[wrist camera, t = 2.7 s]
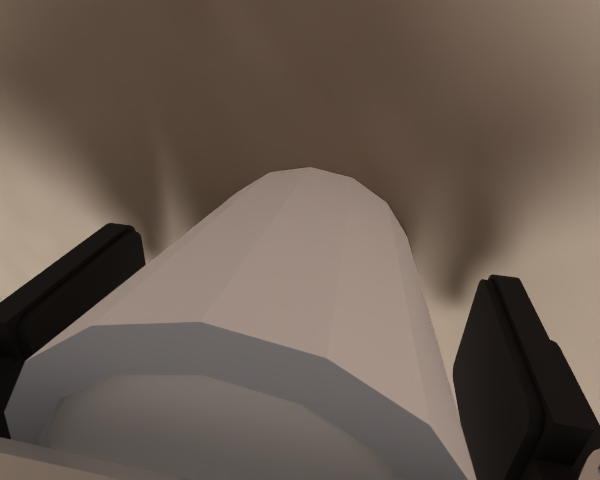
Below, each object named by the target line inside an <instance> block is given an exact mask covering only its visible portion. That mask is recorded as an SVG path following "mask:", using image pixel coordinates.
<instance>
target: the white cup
mask: <svg viewBox="0 0 600 480" xmlns="http://www.w3.org/2000/svg"><path fill="white" fill-rule="evenodd" d="M4 414H5V418H6V421H7V425H8V429H9V433H10V436H11V440H15V441H20V442H24V443H29V444H33V445H38V446H42V447H47V448H52V449H56V450H61V451H65V452H70V453H74V454H79V455H83V456H88V457H93V458H97V459H102V460H106V461H111V462H115V463H120V464H124V465H129V466H133V467H137V468H142V469H146V470H151V471H155V472H160V473H164V474H169V475H173V476H177V477H182V478H186V479H191V480H477V479H476V476H475V472H474V469H473V465H472V462H471V458H470V455H469V451H468V448H467V444H466V441H465V437H464V434H463V430H462V427H461V423H460V420H459V416H458V413H457V409H456V406H455V402H454V399H453V395H452V392H451V388H450V385H449V381H448V378H447V374H446V371H445V367H444V364H443V360H442V357H441V353H440V350H439V346H438V343H437V339H436V336H435V332H434V329H433V325H432V322H431V318H430V315H429V311H428V308H427V304H426V301H425V297H424V294H423V290H422V287H421V283H420V280H419V276H418V273H417V269H416V266H415V262H414V259H413V255H412V252H411V248H410V245H409V241H408V238H407V236H406V234H405V232H404V230H403V229H402V227H401V225H400V224H399V222H398V220H397V219H396V217H395V215H394V214H393V212H392V210H391V209H390V207H389V205H388V204H387V202H385V201H384V200H382V199H381V198H380V197H378V196H377V195H376V194H374V193H373V192H371V191H370V190H369V189H367V188H366V187H365V186H363V185H362V184H361V183H359V182H358V181H356V180H355V179H354V178H352V177H348V176H344V175H340V174H336V173H332V172H328V171H324V170H321V169H317V168H313V167H306V168H298V169H291V170H283V171H276V172H269V173H268V174H266V175H264V176H263V177H261V178H259V179H258V180H256V181H254V182H253V183H251V184H249V185H248V186H246V187H244V188H243V189H241V190H240V191H238V192H237V193H235V194H234V195H233V196H232V197H230V198H229V199H228V200H227V201H225V202H224V203H223V204H222V205H220V206H219V207H218V208H217V209H215V210H214V211H213V212H212V213H210V214H209V215H208V216H206V217H205V218H204V219H203V220H201V221H200V222H199V223H198V224H196V225H195V226H194V227H193V228H191V229H190V230H189V231H188V232H186V233H185V234H184V235H183V236H181V237H180V238H179V239H178V240H176V241H175V242H174V243H173V244H171V245H170V246H169V247H168V248H166V249H165V250H164V251H163V252H161V253H160V254H159V255H158V256H156V257H155V258H154V259H153V260H151V261H150V262H149V263H148V264H146V265H145V266H144V267H143V268H141V269H140V270H139V271H138V272H136V273H135V274H134V275H133V276H131V277H130V278H129V279H128V280H126V281H125V282H124V283H122V284H121V285H120V286H119V287H117V288H116V289H115V290H114V291H112V292H111V293H110V294H109V295H107V296H106V297H105V298H104V299H102V300H101V301H100V302H99V303H97V304H96V305H95V306H94V307H92V308H91V309H90V310H89V311H87V312H86V313H85V314H84V315H82V316H81V317H80V318H79V319H77V320H76V321H75V322H74V323H72V324H71V325H70V326H69V327H67V328H66V329H65V330H64V331H62V332H61V333H60V334H59V335H57V336H56V337H55V338H54V339H52V340H51V341H50V342H49V343H47V344H46V345H45V346H44V347H42V348H41V349H40V350H38V351H37V352H36V353H35V354H33V355H32V356H31V357H30V358H28V359H27V360H26V361H25V363H24V365H23V368H22V370H21V373H20V375H19V377H18V380H17V382H16V385H15V387H14V390H13V392H12V394H11V397H10V399H9V402H8V404H7V407H6V409H5V411H4Z"/></svg>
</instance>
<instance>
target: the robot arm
mask: <svg viewBox="0 0 600 480" xmlns="http://www.w3.org/2000/svg"><path fill="white" fill-rule="evenodd" d="M145 265H146V264H145V258H144V251H143V245H142V239H141V235H140V234H139V233H138V232H136V231H135V229H134V227H132V226H130V225H122V224H115V223H108V224H106V225H105V226H104V227H102V228H101V229H99V230H98V231H97V232H95V233H94V234H93V235H91V236H90V237H89V238H87V239H86V240H85V241H83V242H82V243H80V244H79V245H78V246H76V247H75V248H74V249H72V250H71V251H70V252H68V253H67V254H66V255H64V256H63V257H61V258H60V259H59V260H57V261H56V262H55V263H53V264H52V265H51V266H49V267H48V268H46V269H45V270H44V271H42V272H41V273H40V274H38V275H37V276H36V277H34V278H33V279H32V280H30V281H29V282H27V283H26V284H25V285H23V286H22V287H21V288H19V289H18V290H17V291H15V292H14V293H12V294H11V295H10V296H8V297H7V298H6V299H4V300H3V301H2V302H0V480H191V479H186V478H182V477H177V476H173V475H169V474H164V473H160V472H155V471H151V470H146V469H142V468H137V467H133V466H129V465H124V464H120V463H115V462H111V461H106V460H102V459H97V458H93V457H88V456H83V455H79V454H74V453H70V452H65V451H61V450H56V449H52V448H47V447H42V446H38V445H33V444H29V443H24V442H20V441H15V440H11V436H10V433H9V429H8V425H7V421H6V418H5V414H4V411H5V409H6V407H7V404H8V402H9V399H10V397H11V394H12V392H13V390H14V387H15V385H16V382H17V380H18V377H19V375H20V373H21V370H22V368H23V365H24V363H25V361H26V360H27V359H28V358H30V357H31V356H32V355H33V354H35V353H36V352H37V351H38V350H40V349H41V348H42V347H44V346H45V345H46V344H47V343H49V342H50V341H51V340H52V339H54V338H55V337H56V336H57V335H59V334H60V333H61V332H62V331H64V330H65V329H66V328H67V327H69V326H70V325H71V324H72V323H74V322H75V321H76V320H77V319H79V318H80V317H81V316H82V315H84V314H85V313H86V312H87V311H89V310H90V309H91V308H92V307H94V306H95V305H96V304H97V303H99V302H100V301H101V300H102V299H104V298H105V297H106V296H107V295H109V294H110V293H111V292H112V291H114V290H115V289H116V288H117V287H119V286H120V285H121V284H122V283H124V282H125V281H126V280H128V279H129V278H130V277H131V276H133V275H134V274H135V273H136V272H138V271H139V270H140V269H141V268H143V267H144V266H145ZM453 382H454V387H455V393H456V399H457V405H458V410H459V416H460V422H461V427H462V430H463V434H464V437H465V441H466V444H467V448H468V451H469V455H470V458H471V462H472V465H473V469H474V472H475V476H476V479H477V480H600V425H599V423H598V421H597V419H596V417H595V415H594V413H593V411H592V409H591V407H590V405H589V403H588V401H587V399H586V398H585V396H584V394H583V392H582V390H581V388H580V386H579V384H578V382H577V380H576V378H575V376H574V374H573V372H572V370H571V368H570V366H569V364H568V362H567V360H566V359H565V357H564V355H563V353H562V351H561V349H560V347H559V346H558V344H557V343H556V342H554V341H552V340H550V339H549V337H548V335H547V333H546V331H545V329H544V327H543V325H542V323H541V321H540V319H539V317H538V315H537V313H536V311H535V309H534V307H533V305H532V303H531V301H530V299H529V297H528V295H527V293H526V291H525V289H524V287H523V284H522V282H521V281H520V279H519V278H515V277H508V276H500V275H493V274H492V275H490V277H489V278H488V280H484V279H482V280H480V282H479V285H478V288H477V291H476V294H475V297H474V300H473V304H472V307H471V310H470V313H469V317H468V320H467V323H466V326H465V330H464V333H463V336H462V339H461V343H460V346H459V349H458V352H457V355H456V359H455V362H454V366H453Z"/></svg>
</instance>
